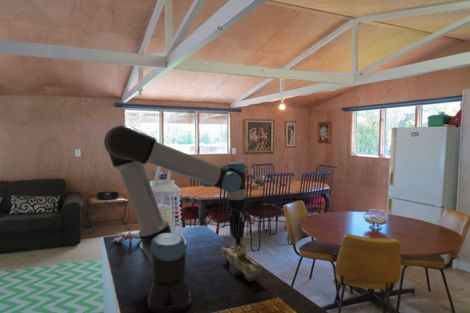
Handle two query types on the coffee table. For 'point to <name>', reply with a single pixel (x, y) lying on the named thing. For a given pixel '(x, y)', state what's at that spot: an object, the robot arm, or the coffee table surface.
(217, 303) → the coffee table surface
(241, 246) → the rider
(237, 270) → the stand
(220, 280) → the coffee table surface
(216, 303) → the coffee table surface
